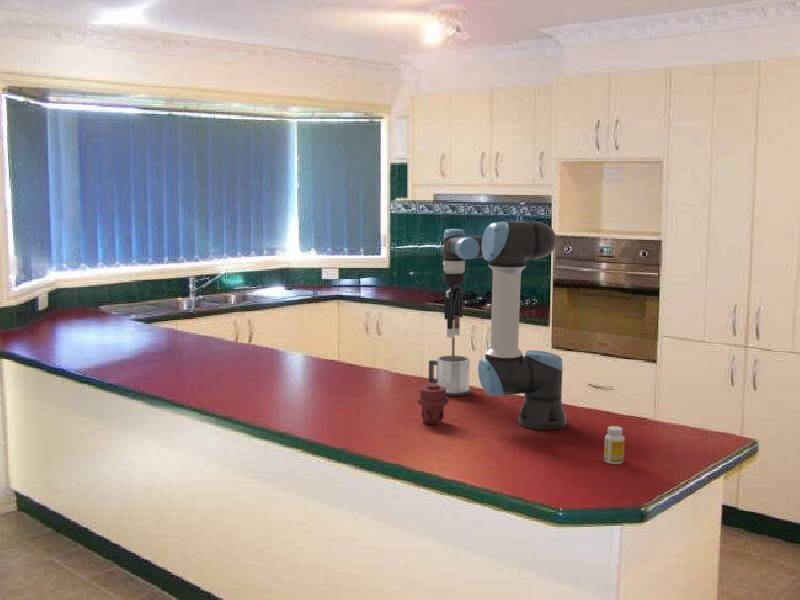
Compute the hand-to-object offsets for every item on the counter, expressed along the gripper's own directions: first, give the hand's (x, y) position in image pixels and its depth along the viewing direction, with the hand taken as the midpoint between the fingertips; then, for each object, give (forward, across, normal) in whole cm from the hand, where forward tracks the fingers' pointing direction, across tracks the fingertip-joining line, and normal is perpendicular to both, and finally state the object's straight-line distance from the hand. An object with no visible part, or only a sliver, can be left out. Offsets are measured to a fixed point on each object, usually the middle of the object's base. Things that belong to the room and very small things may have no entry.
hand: (453, 336), depth 324 cm
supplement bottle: (+21, +56, +69) cm, 91 cm away
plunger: (+13, 0, 0) cm, 13 cm away
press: (+21, 0, -1) cm, 21 cm away
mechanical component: (+21, +40, +9) cm, 46 cm away
